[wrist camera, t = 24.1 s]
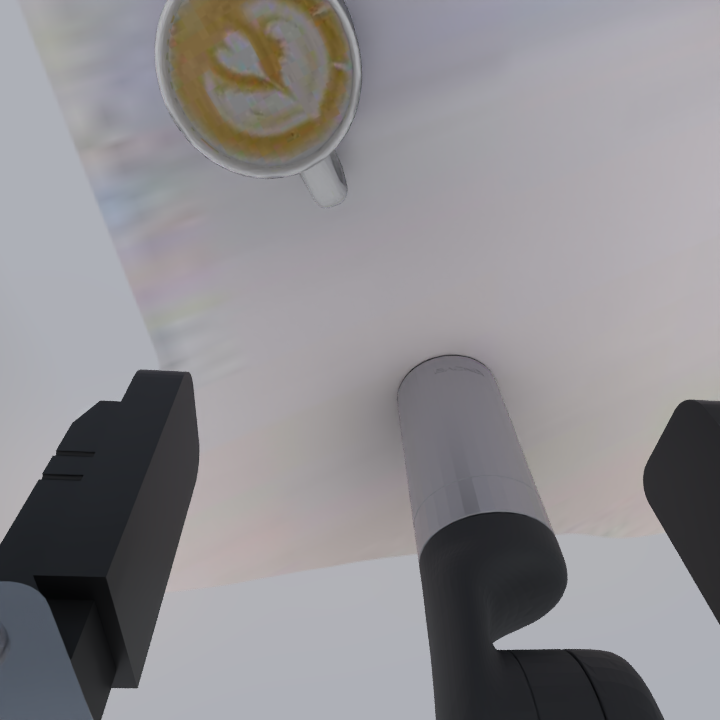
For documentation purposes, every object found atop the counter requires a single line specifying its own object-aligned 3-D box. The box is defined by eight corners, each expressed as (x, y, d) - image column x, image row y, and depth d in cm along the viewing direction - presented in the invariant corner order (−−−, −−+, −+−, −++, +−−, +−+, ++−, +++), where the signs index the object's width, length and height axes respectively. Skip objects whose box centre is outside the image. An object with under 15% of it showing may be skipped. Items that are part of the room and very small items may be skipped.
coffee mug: (171, -19, 33) (115, -16, 25) (334, -68, 32) (332, -81, 24) (249, 198, 40) (225, 256, 32) (383, 164, 39) (394, 215, 31)
